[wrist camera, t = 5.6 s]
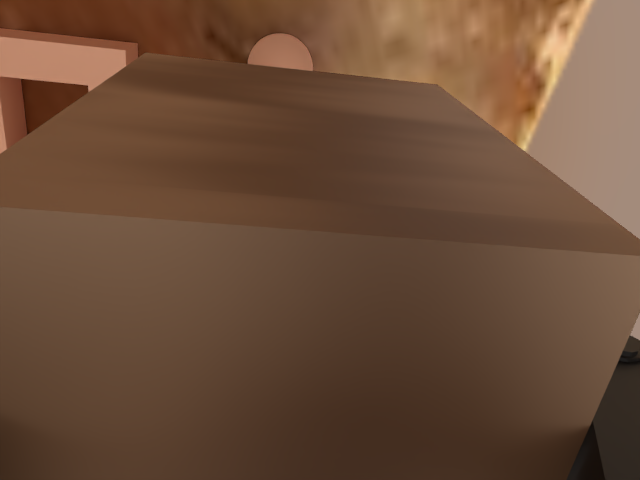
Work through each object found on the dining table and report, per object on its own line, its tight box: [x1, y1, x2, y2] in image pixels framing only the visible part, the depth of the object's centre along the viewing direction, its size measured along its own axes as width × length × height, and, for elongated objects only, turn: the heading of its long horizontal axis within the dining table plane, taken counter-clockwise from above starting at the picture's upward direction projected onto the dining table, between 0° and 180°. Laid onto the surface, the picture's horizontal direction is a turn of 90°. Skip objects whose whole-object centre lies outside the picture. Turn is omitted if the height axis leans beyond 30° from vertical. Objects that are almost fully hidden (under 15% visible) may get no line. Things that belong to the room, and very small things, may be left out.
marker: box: [248, 33, 313, 71], centre depth 34 cm, size 4×4×1 cm
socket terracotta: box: [0, 28, 138, 154], centre depth 33 cm, size 9×9×3 cm
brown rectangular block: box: [0, 53, 640, 480], centre depth 11 cm, size 7×7×9 cm
